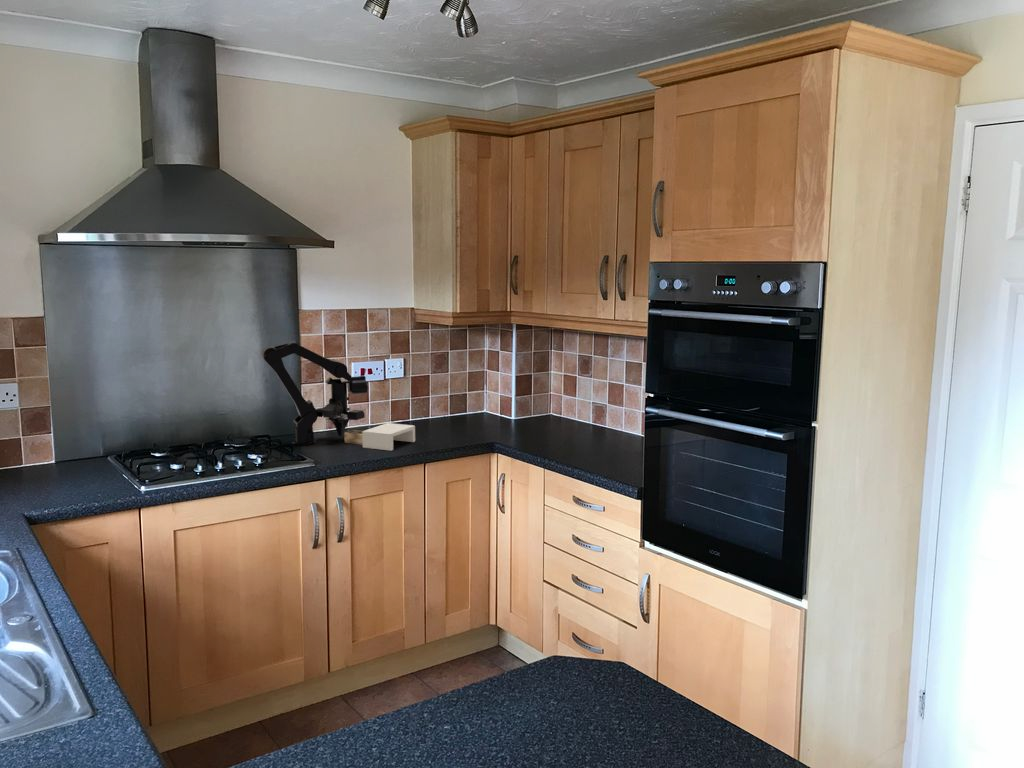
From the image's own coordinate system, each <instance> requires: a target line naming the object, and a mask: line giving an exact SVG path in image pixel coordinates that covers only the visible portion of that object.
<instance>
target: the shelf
mask: <svg viewBox="0 0 1024 768" xmlns="http://www.w3.org/2000/svg"><path fill="white" fill-rule="evenodd" d="M361 431H362V439H363V445H362V448H363V449H373V450H382V451H383V450H384V451H390V452H391V451H394V441H399V442H407V443H408V442H409V443H415V442H416V426H415V425H413V424H402V423H390V422H387V423H383V424H381V425H377V426H374V427H371V428H368V429H365V430H361Z"/></svg>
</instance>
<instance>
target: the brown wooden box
mask: <svg viewBox="0 0 1024 768" xmlns="http://www.w3.org/2000/svg"><path fill="white" fill-rule="evenodd" d="M362 431H363V430H357V429H353V430H348V431H344V432H343V434H344V435H343V436H344V439H343V440H344V443H345V444H346V443H347V444H355V445H361V446H363V439H362Z"/></svg>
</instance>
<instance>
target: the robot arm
mask: <svg viewBox="0 0 1024 768" xmlns="http://www.w3.org/2000/svg"><path fill="white" fill-rule="evenodd" d="M293 354H295V355H297V356H299V357H301V358H303V359H305V360H307V361H310V362H311V363H313V364H315V365H318V366H319V367H321V368H322V369H323V370H325V371H326V372H328V373H329V374H330V375H332V376H333V377H334V379H333V378H332V377H330V376H329V377H328V379H327V380H326V381H325V384H326V385H330V389H331V391H330V392H331V397H330V398H329V400H328V403H327V404H326V405H324V406H323V407H319V408H316V407H315V406H314V403H313V401H312V400H311V399H308V400H306V399H305V398H304V396H303V395H302V393H301V391H300V389H299V388H298V387H297V385H296V383H295V382H294V380H293V379H292V377H291V375H290V374H289V372H288V370H287V369H286V368H285V363H284V360H283V358H285V357H288V356H291V355H293ZM260 355H261V358H262V360H263V361H264V362H266V364H267V365H268V366H269V367H270V368H271V369H272V371H274V373H275V375H276V376H277V377H278V379H279V381H280V382H281V384H282V386H283V387H284V388H285V390H286V392H287V393H288V395H289V397H290V398H291V399H292V401H293V402H294V406H295V408H296V411H297V414H298V415H297V416H295V418H294V419H293V420H292V422H293V424H294V427H293V438H294V439H293V442H291V445H298V446H299V445H300V446H303V447H304V446H305V447H306V446H309V445H311V444H315V443H316V440H315V435H314V434H315V433H314V432H315V431H314V428H313V425H314V424H315V423H316V421H317V420H318V418H322V417H323V418H324V419H325V418H327V420H328V421H331V422H332V423H333V425H334V428H335V431H336V432H337V435H338V436H339V437H342V436H344V435H343V434H344V432H345V431H346V430H345V429H346V428H347V425H348V423H349V421H358V420H361V419H364V418H366V417H365V412H364V410H362V409H361V410H359V409H354V410H350V407H348V401H349V400H350V397H348V393H350V394H351V395H362V394H363V395H364V394H367V393H368V383H367V380H366V376H365V375H359V376H352V375H351V374H350V373H349V372H348V367H347V365H346V364H345V363H343V362H341V361H338V360H335V359H331V358H328V357H325V356H322V355H320V354H319V353H316V352H314V351H312V350H311V349H308V348H306V347H305V346H302V345H301V344H298V342H296V341H289V342H288V343H283V344H278V345H276V346H270V345H269V346H266V347H263V349H262V350H261V354H260ZM342 379H344V380H342Z"/></svg>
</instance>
